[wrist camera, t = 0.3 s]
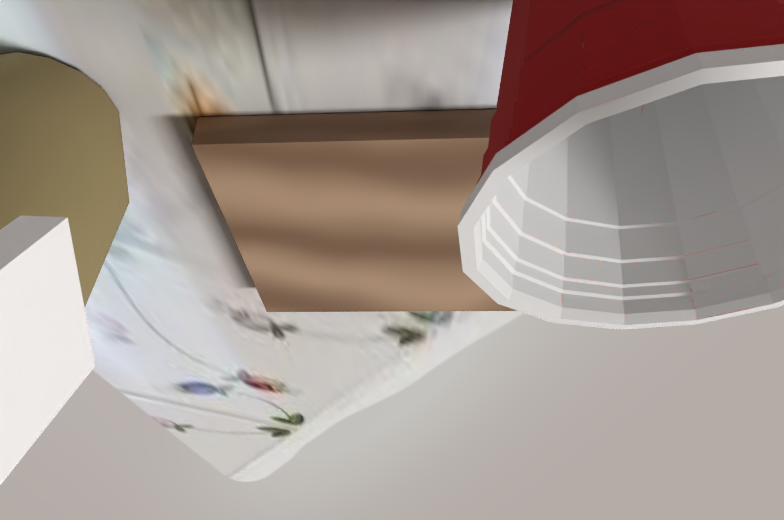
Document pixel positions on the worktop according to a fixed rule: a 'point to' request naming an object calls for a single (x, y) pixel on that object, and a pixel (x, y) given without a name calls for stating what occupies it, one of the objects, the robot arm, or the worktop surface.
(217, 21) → the worktop surface
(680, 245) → the plastic cup
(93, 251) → the squeeze bottle
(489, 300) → the walnut board
